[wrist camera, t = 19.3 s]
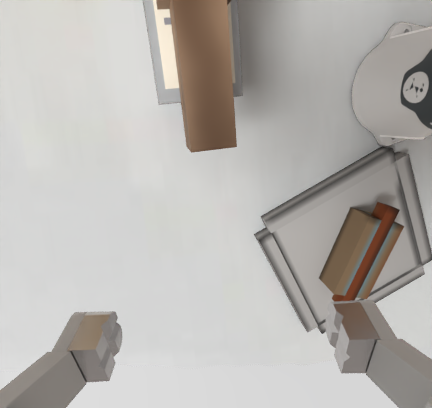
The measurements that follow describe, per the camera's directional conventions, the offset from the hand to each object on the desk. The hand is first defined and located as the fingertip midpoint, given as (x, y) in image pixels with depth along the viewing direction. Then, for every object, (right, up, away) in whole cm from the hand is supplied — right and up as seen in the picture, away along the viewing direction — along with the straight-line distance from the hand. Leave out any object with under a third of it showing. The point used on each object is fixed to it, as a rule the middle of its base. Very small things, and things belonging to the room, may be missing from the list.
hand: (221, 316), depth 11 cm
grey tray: (+25, -3, +46) cm, 52 cm away
